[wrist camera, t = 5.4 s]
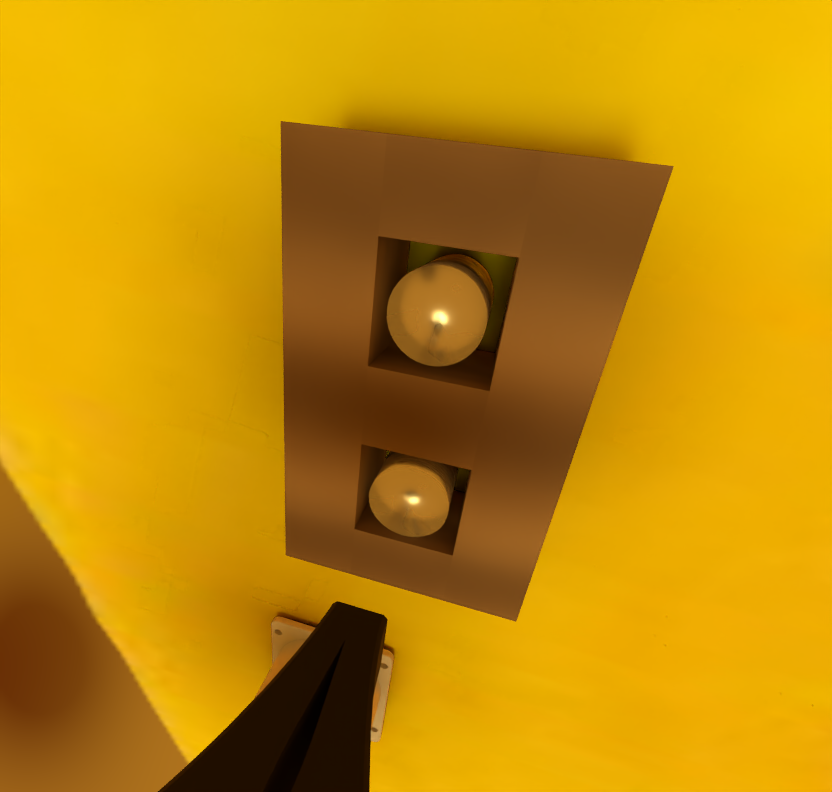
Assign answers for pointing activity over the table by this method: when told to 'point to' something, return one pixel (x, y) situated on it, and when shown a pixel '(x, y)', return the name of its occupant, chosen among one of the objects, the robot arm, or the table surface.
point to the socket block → (458, 383)
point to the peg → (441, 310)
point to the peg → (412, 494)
